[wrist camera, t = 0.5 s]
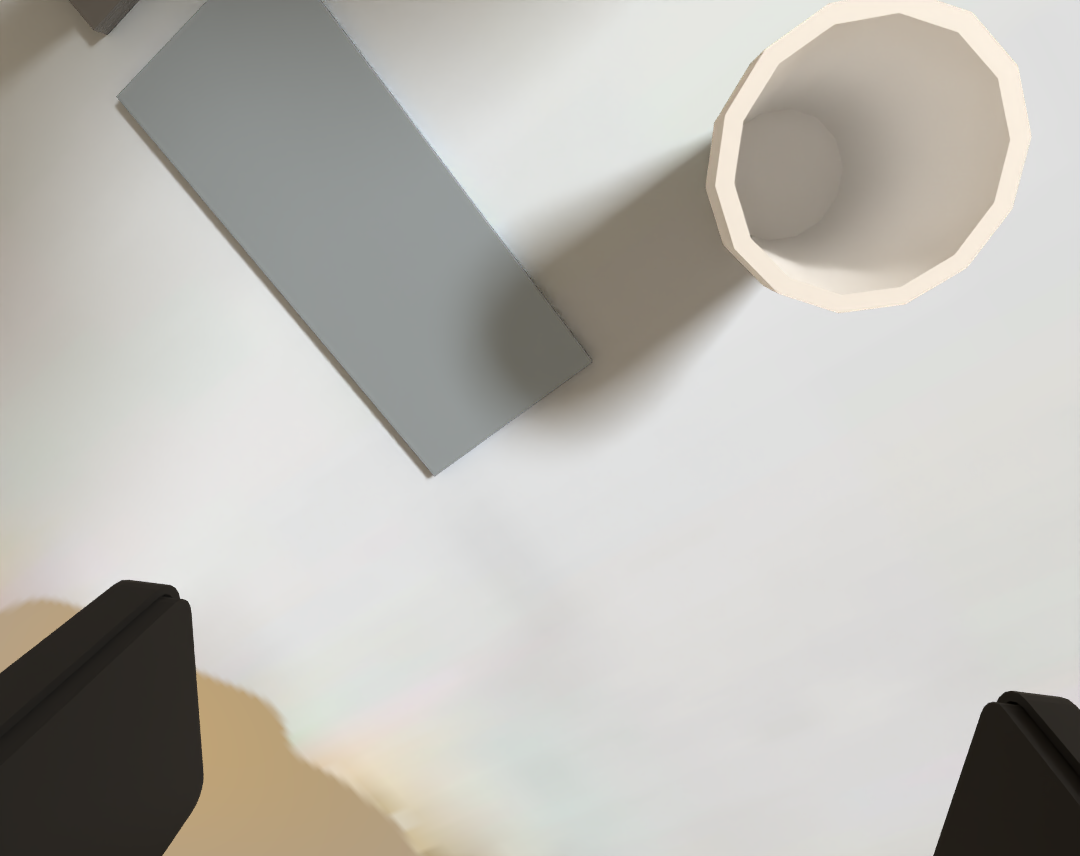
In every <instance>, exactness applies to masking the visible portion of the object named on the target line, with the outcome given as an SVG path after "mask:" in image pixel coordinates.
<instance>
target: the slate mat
mask: <svg viewBox="0 0 1080 856" xmlns="http://www.w3.org/2000/svg"><path fill="white" fill-rule="evenodd" d="M116 97H117V98H118V99H119V101H120V102H121V103H122V104H123V105H124V106H125V108H126V109H127V110H128V111H129V112H130V114H131V115H132V116H133V117H134V118H135V120H136V121H137V122H138V123H139V124H140V126H141V127H142V128H143V129H144V130H145V132H146V133H147V134H148V135H149V136H150V138H151V139H152V140H153V141H154V142H155V143H156V145H157V146H158V147H159V148H160V149H161V151H162V152H163V153H164V154H165V155H166V157H167V158H168V159H169V160H170V161H171V163H172V164H173V165H174V166H175V167H176V169H177V170H178V171H179V172H180V173H181V175H182V176H183V177H184V178H185V179H186V180H187V182H188V183H189V184H190V185H191V186H192V188H193V189H194V190H195V191H196V192H197V194H198V195H199V196H200V197H201V198H202V200H203V201H204V202H205V203H206V204H207V206H208V207H209V208H210V209H211V210H212V212H213V213H214V214H215V215H216V216H217V217H218V219H219V220H220V221H221V222H222V223H223V225H224V226H225V227H226V228H227V229H228V231H229V232H230V233H231V234H232V235H233V237H234V238H235V239H236V240H237V241H238V243H239V244H240V245H241V246H242V247H243V249H244V250H245V251H246V252H247V253H248V254H249V256H250V257H251V258H252V259H253V260H254V262H255V263H256V264H257V265H258V266H259V268H260V269H261V270H262V271H263V272H264V274H265V275H266V276H267V277H268V278H269V280H270V281H271V282H272V283H273V284H274V286H275V287H276V288H277V289H278V290H279V291H280V293H281V294H282V295H283V296H284V297H285V299H286V300H287V301H288V302H289V303H290V305H291V306H292V307H293V308H294V309H295V311H296V312H297V313H298V314H299V315H300V317H301V318H302V319H303V320H304V321H305V323H306V324H307V325H308V326H309V327H310V328H311V330H312V331H313V332H314V333H315V334H316V336H317V337H318V338H319V339H320V340H321V342H322V343H323V344H324V345H325V346H326V348H327V349H328V350H329V351H330V352H331V354H332V355H333V356H334V357H335V358H336V360H337V361H338V362H339V363H340V364H341V365H342V367H343V368H344V369H345V370H346V371H347V373H348V374H349V375H350V376H351V377H352V379H353V380H354V381H355V382H356V383H357V385H358V386H359V387H360V388H361V389H362V391H363V392H364V393H365V394H366V395H367V397H368V398H369V399H370V400H371V401H372V402H373V404H374V405H375V406H376V407H377V408H378V410H379V411H380V412H381V413H382V414H383V416H384V417H385V418H386V419H387V420H388V422H389V423H390V424H391V425H392V426H393V428H394V429H395V430H396V431H397V432H398V433H399V435H400V436H401V437H402V438H403V439H404V441H405V442H406V443H407V444H408V445H409V447H410V448H411V449H412V450H413V451H414V453H415V454H416V455H417V456H418V457H419V459H420V460H421V461H422V462H423V463H424V465H425V466H426V467H427V468H428V469H429V470H430V472H431V473H432V474H433V475H434V476H436V475H437V474H439V473H440V472H442V471H443V470H444V469H446V468H447V467H448V466H450V465H451V464H453V463H454V462H455V461H457V460H458V459H460V458H461V457H462V456H464V455H465V454H466V453H468V452H469V451H471V450H472V449H473V448H475V447H476V446H477V445H479V444H480V443H482V442H483V441H484V440H486V439H487V438H488V437H490V436H491V435H493V434H494V433H495V432H497V431H498V430H500V429H501V428H502V427H504V426H505V425H506V424H508V423H509V422H511V421H512V420H513V419H515V418H516V417H517V416H519V415H520V414H522V413H523V412H524V411H526V410H527V409H528V408H530V407H531V406H533V405H534V404H535V403H537V402H538V401H539V400H541V399H542V398H544V397H545V396H546V395H548V394H549V393H551V392H552V391H553V390H555V389H556V388H557V387H559V386H560V385H562V384H563V383H564V382H566V381H567V380H568V379H570V378H571V377H573V376H574V375H575V374H577V373H578V372H579V371H581V370H582V369H584V368H585V367H586V366H588V365H589V364H590V363H592V359H591V358H590V357H589V355H588V354H587V353H586V351H585V350H584V349H583V348H582V346H581V345H580V344H579V342H578V341H577V340H576V338H575V337H574V336H573V334H572V333H571V332H570V330H569V329H568V328H567V326H566V325H565V324H564V322H563V321H562V320H561V318H560V317H559V316H558V314H557V313H556V312H555V310H554V309H553V308H552V306H551V305H550V304H549V302H548V301H547V300H546V298H545V297H544V296H543V294H542V293H541V292H540V290H539V289H538V288H537V287H536V285H535V284H534V283H533V281H532V280H531V279H530V277H529V276H528V275H527V273H526V272H525V271H524V269H523V268H522V267H521V265H520V264H519V263H518V261H517V260H516V259H515V257H514V256H513V255H512V253H511V252H510V251H509V249H508V248H507V247H506V245H505V244H504V243H503V241H502V240H501V239H500V237H499V236H498V235H497V233H496V232H495V231H494V229H493V228H492V227H491V225H490V224H489V223H488V222H487V220H486V219H485V218H484V216H483V215H482V214H481V212H480V211H479V210H478V208H477V207H476V206H475V204H474V203H473V202H472V200H471V199H470V198H469V196H468V195H467V194H466V192H465V191H464V190H463V188H462V187H461V186H460V184H459V183H458V182H457V180H456V179H455V178H454V176H453V175H452V174H451V172H450V171H449V170H448V168H447V167H446V166H445V164H444V163H443V162H442V160H441V159H440V158H439V157H438V155H437V154H436V153H435V151H434V150H433V149H432V147H431V146H430V145H429V143H428V142H427V141H426V139H425V138H424V137H423V135H422V134H421V133H420V131H419V130H418V129H417V127H416V126H415V125H414V123H413V122H412V121H411V119H410V118H409V117H408V115H407V114H406V113H405V111H404V110H403V109H402V107H401V106H400V105H399V103H398V102H397V101H396V99H395V98H394V97H393V95H392V94H391V93H390V92H389V90H388V89H387V88H386V86H385V85H384V84H383V82H382V81H381V80H380V78H379V77H378V76H377V74H376V73H375V72H374V70H373V69H372V68H371V66H370V65H369V64H368V62H367V61H366V60H365V58H364V57H363V56H362V54H361V53H360V52H359V50H358V49H357V48H356V46H355V45H354V44H353V42H352V41H351V40H350V38H349V37H348V36H347V34H346V33H345V32H344V31H343V29H342V28H341V27H340V25H339V24H338V23H337V21H336V20H335V19H334V17H333V16H332V15H331V13H330V12H329V11H328V9H327V8H326V7H325V5H324V4H323V3H322V1H321V0H208V1H207V2H206V3H205V4H204V5H203V6H202V7H201V8H200V9H199V10H198V11H197V12H196V13H195V14H194V15H193V16H192V17H191V18H190V19H189V21H188V22H187V23H186V24H185V25H184V26H183V27H182V28H181V29H180V30H179V31H178V32H177V33H176V34H175V35H174V36H173V37H172V38H171V40H170V41H169V42H168V43H167V44H166V45H165V46H164V47H163V48H162V49H161V50H160V51H159V52H158V53H157V54H156V55H155V56H154V57H153V59H152V60H151V61H150V62H149V63H148V64H147V65H146V66H145V67H144V68H143V69H142V70H141V71H140V72H139V73H138V74H137V75H136V76H135V77H134V79H133V80H132V81H131V82H130V83H129V84H128V85H127V86H126V87H125V88H124V89H123V90H122V91H121V92H120V93H119V94H118V95H117V96H116Z"/></svg>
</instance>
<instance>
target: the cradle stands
mask: <svg viewBox="0 0 1080 856" xmlns="http://www.w3.org/2000/svg"><path fill="white" fill-rule="evenodd" d="M69 1H70V2H71V3H72V4H73V6H74V7H75V8H76V9H77V11H78V12H79V13H80V14H81V15H82V17H83V18H84V19H85V20H86V21H87V23H88V24H89V25H90V26H91V27H92V29H93V30H95V31H98V32H101V33H104V34H107V35H108V33H109V32H110V31H111V30H112V29H113V28H114V27H115V26H116V25H117V24H118V22H119V21H120V20H121V19H122V18H123V17H124V16H125V15H126V14H127V13H128V12H129V10H130V9H131V8H132V7H133V6H134V5H135V4H136V3H137V2H138V1H139V0H69Z"/></svg>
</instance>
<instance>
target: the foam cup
mask: <svg viewBox="0 0 1080 856" xmlns="http://www.w3.org/2000/svg"><path fill="white" fill-rule="evenodd" d="M1030 140H1031V131H1030V126H1029V121H1028V116H1027V111H1026V106H1025V100H1024V95H1023V90H1022V85H1021V80H1020V74H1019V69H1018V65H1017V64H1016V63H1015V62H1014V61H1013V59H1012V58H1011V57H1010V56H1009V55H1008V53H1007V52H1006V51H1005V50H1004V49H1003V48H1002V46H1001V45H1000V44H999V43H998V42H997V41H996V39H995V38H994V37H993V36H992V35H991V34H990V32H989V31H988V30H987V29H986V28H985V27H984V25H983V24H982V23H981V22H980V21H979V20H978V18H977V17H976V16H975V15H974V14H973V13H972V12H970V11H967V10H964V9H961V8H958V7H955V6H952V5H949V4H946V3H943V2H940V1H937V0H845V1H839V2H834V3H829V4H828V5H826V6H825V7H823V8H822V9H821V10H819V11H818V12H816V13H815V14H814V15H812V16H811V17H809V18H808V19H807V20H805V21H804V22H802V23H801V24H800V25H798V26H797V27H795V28H794V29H793V30H791V31H790V32H788V33H787V34H786V35H784V36H783V37H781V38H780V39H779V40H777V41H776V42H774V43H773V44H772V45H770V46H769V47H767V48H766V49H765V50H764V51H763V52H762V53H761V54H760V55H759V56H758V57H756V58H755V59H754V60H753V61H752V62H751V63H750V65H749V67H748V68H747V70H746V71H745V73H744V75H743V76H742V78H741V80H740V81H739V83H738V85H737V86H736V88H735V90H734V91H733V93H732V94H731V96H730V98H729V99H728V101H727V103H726V104H725V106H724V108H723V109H722V111H721V113H720V114H719V116H718V117H717V119H716V121H715V122H714V129H713V136H712V143H711V150H710V157H709V165H708V172H707V179H706V186H705V188H706V191H707V194H708V198H709V201H710V204H711V207H712V210H713V214H714V217H715V220H716V223H717V226H718V230H719V233H720V236H721V239H722V243H723V245H724V246H725V247H726V248H727V249H728V250H729V251H730V252H731V253H732V254H733V255H734V256H735V257H736V258H737V260H738V261H739V262H740V263H741V264H742V265H743V266H744V267H745V268H746V269H747V270H748V271H749V272H750V273H751V274H752V275H753V276H754V277H755V278H756V279H757V280H758V281H759V282H760V283H761V284H762V285H763V286H765V287H767V288H768V289H770V290H772V291H774V292H776V293H778V294H781V295H784V296H787V297H790V298H793V299H797V300H800V301H803V302H806V303H809V304H812V305H815V306H818V307H821V308H824V309H827V310H830V311H833V312H836V313H843V312H851V311H858V310H866V309H874V308H881V307H889V306H897V305H904V304H906V303H908V302H910V301H912V300H913V299H915V298H917V297H918V296H920V295H922V294H923V293H925V292H927V291H928V290H930V289H932V288H934V287H935V286H937V285H939V284H940V283H942V282H944V281H945V280H947V279H949V278H951V277H952V276H954V275H956V274H957V273H959V272H961V271H962V270H964V269H966V268H967V267H968V266H969V264H970V263H971V262H972V260H973V259H974V258H975V257H976V255H977V254H978V253H979V251H980V250H981V249H982V247H983V246H984V245H985V244H986V242H987V241H988V240H989V238H990V237H991V236H992V234H993V233H994V232H995V231H996V229H997V228H998V227H999V225H1000V224H1001V223H1002V222H1003V220H1004V219H1005V218H1006V216H1007V215H1008V214H1009V212H1010V211H1011V210H1012V208H1013V204H1014V201H1015V197H1016V193H1017V189H1018V185H1019V182H1020V178H1021V174H1022V170H1023V167H1024V163H1025V159H1026V155H1027V151H1028V148H1029V144H1030Z"/></svg>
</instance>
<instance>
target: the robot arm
mask: <svg viewBox="0 0 1080 856" xmlns="http://www.w3.org/2000/svg"><path fill="white" fill-rule="evenodd" d="M202 762H203V761H202V749H201V734H200V721H199V708H198V695H197V681H196V667H195V654H194V640H193V627H192V614H191V607H190V605H189V603H188V601H186V600H184V599H180V596H179V593H178V591H177V590H176V588H175V587H173V586H171V585H165V584H157V583H149V582H141V581H133V580H121V581H120V582H118V583H116V584H114V585H113V586H112V587H110V588H109V589H108V590H107V591H105V592H104V593H103V594H101V595H100V596H99V597H98V598H96V599H95V600H94V601H92V602H91V603H90V604H89V605H87V606H86V607H85V608H83V609H82V610H81V611H80V612H78V613H77V614H76V615H74V616H73V617H72V618H71V619H69V620H68V621H67V622H65V624H63V625H62V626H60V627H59V628H58V629H57V630H56V631H54V632H53V633H51V634H50V635H49V636H48V637H46V638H45V639H44V640H42V641H41V642H40V643H39V644H37V645H36V646H35V647H33V648H32V649H31V650H30V651H28V652H27V653H26V654H24V655H23V656H22V657H21V658H19V659H18V660H17V661H15V662H14V663H13V664H12V665H10V666H9V667H8V668H7V669H5V670H4V671H3V672H1V673H0V856H162V855H163V854H164V852H165V851H166V849H167V848H168V846H169V845H170V844H171V842H172V841H173V839H174V838H175V836H176V835H177V833H178V832H179V830H180V829H181V827H182V826H183V824H184V823H185V821H186V820H187V818H188V817H189V816H190V814H191V813H192V811H193V809H194V808H195V806H196V804H197V801H198V799H199V797H200V793H201V790H202V785H203V763H202ZM933 856H1080V709H1079V708H1078V707H1077V706H1076V705H1074V704H1073V703H1072V702H1071V701H1069V700H1068V699H1065V698H1062V697H1056V696H1048V695H1040V694H1032V693H1024V692H1017V691H1009V692H1005V693H1003V694H1002V695H1001V696H1000V697H999V699H998V700H997V702H991V703H988V704H987V705H986V706H985V707H984V708H983V710H982V712H981V715H980V718H979V721H978V724H977V727H976V730H975V733H974V736H973V739H972V742H971V745H970V748H969V751H968V754H967V757H966V760H965V763H964V766H963V769H962V772H961V775H960V778H959V781H958V784H957V787H956V790H955V793H954V796H953V799H952V802H951V805H950V808H949V811H948V814H947V817H946V820H945V823H944V826H943V829H942V832H941V834H940V837H939V840H938V843H937V846H936V849H935V852H934V855H933Z"/></svg>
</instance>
